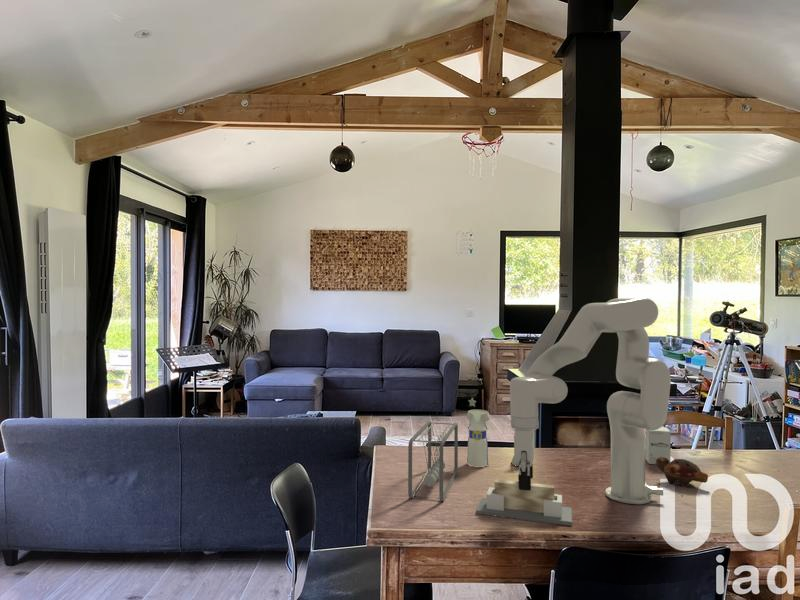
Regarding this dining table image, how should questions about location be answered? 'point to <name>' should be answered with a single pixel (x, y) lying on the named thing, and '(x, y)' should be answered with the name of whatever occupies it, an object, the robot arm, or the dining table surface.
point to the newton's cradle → (439, 463)
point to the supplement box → (657, 444)
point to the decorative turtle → (681, 471)
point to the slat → (524, 495)
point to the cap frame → (551, 511)
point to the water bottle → (477, 436)
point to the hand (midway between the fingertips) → (526, 483)
